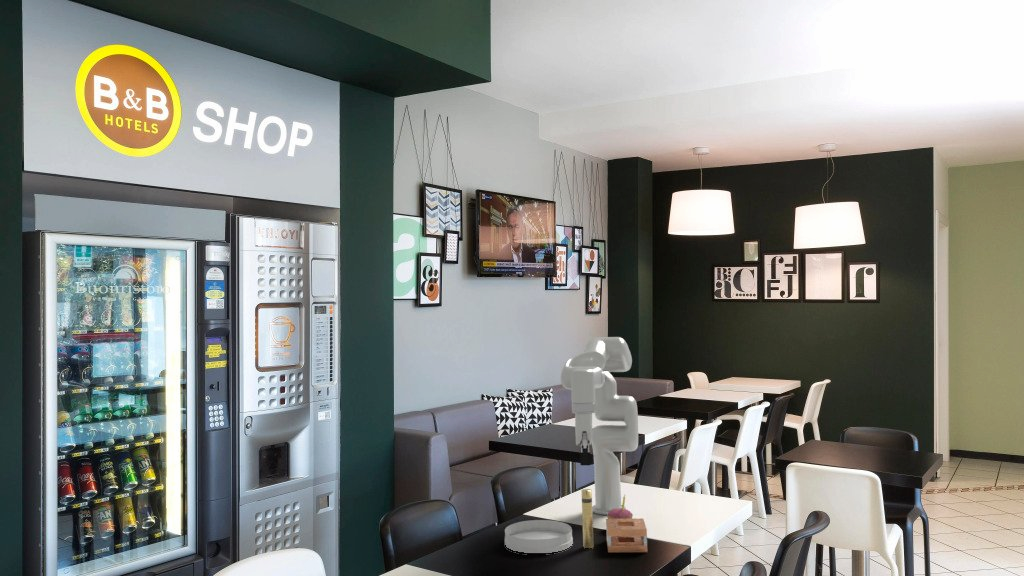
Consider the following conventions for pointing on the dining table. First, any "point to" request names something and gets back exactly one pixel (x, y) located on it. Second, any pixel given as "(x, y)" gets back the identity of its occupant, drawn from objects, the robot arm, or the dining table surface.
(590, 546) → the air tube
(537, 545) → the dish
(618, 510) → the cupcake
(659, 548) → the dining table surface
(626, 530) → the collar stand
